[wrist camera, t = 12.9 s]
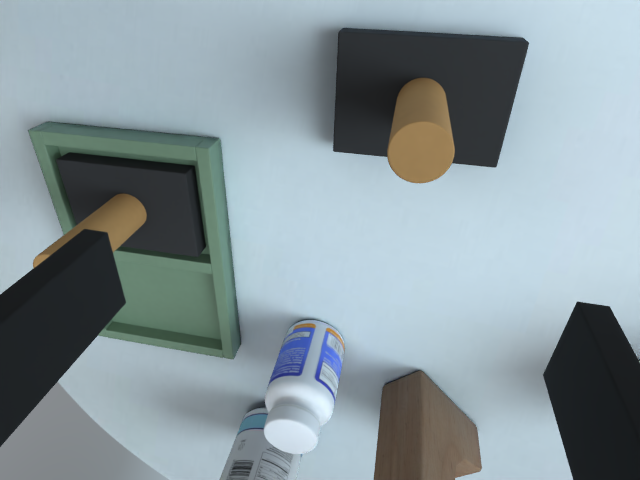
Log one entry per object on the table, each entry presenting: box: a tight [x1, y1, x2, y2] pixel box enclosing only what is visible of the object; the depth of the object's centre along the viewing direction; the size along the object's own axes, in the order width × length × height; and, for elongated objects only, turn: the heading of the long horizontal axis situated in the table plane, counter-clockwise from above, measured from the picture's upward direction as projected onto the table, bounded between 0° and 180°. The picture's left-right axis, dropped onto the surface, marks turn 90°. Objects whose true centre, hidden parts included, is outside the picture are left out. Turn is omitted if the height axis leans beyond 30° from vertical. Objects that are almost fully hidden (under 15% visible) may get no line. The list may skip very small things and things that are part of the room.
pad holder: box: [28, 122, 241, 359], centre depth 36 cm, size 20×14×2 cm
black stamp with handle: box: [33, 152, 206, 268], centre depth 30 cm, size 7×10×10 cm
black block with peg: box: [333, 28, 529, 183], centre depth 23 cm, size 7×10×10 cm
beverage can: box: [220, 407, 302, 480], centre depth 42 cm, size 7×7×12 cm
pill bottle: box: [264, 320, 345, 454], centre depth 35 cm, size 5×5×10 cm
